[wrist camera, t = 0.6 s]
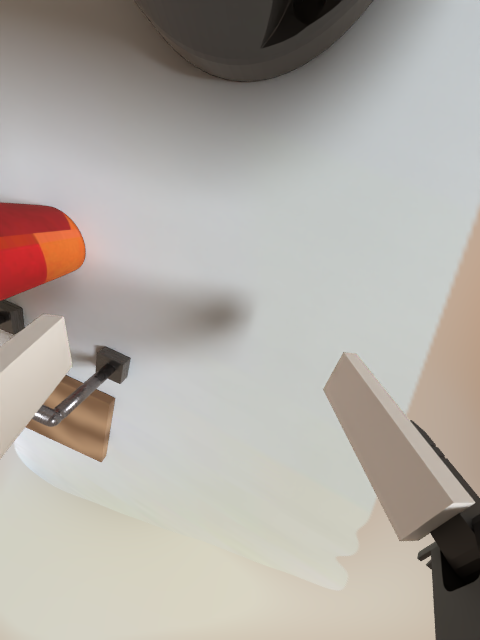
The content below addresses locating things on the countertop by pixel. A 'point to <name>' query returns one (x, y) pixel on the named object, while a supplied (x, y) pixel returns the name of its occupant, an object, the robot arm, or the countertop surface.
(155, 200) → the countertop surface
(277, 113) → the countertop surface
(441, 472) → the robot arm
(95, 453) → the walnut board
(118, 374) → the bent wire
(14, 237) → the paper cup
